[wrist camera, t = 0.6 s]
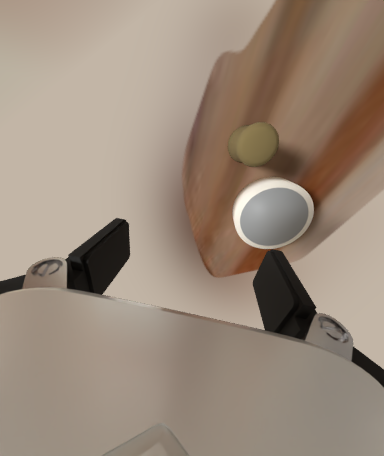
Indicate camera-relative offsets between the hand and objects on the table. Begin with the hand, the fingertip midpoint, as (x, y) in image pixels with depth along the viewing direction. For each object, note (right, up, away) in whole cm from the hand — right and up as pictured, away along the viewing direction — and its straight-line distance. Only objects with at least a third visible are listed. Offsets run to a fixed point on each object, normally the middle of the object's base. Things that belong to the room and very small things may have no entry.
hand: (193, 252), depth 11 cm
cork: (+9, +17, +19) cm, 27 cm away
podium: (+16, +5, +24) cm, 29 cm away
